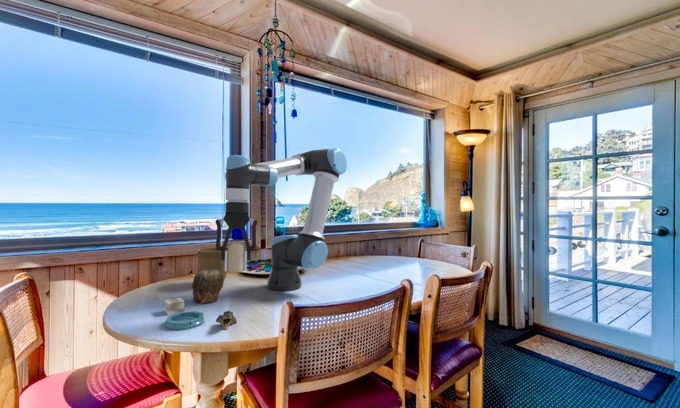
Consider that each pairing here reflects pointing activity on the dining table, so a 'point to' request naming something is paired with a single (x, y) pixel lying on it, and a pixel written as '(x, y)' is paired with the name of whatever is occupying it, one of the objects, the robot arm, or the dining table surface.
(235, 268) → the candle
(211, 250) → the plant pot
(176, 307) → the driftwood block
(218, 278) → the brown rough lump
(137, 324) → the dining table surface
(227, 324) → the shark head
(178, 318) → the candle dish
